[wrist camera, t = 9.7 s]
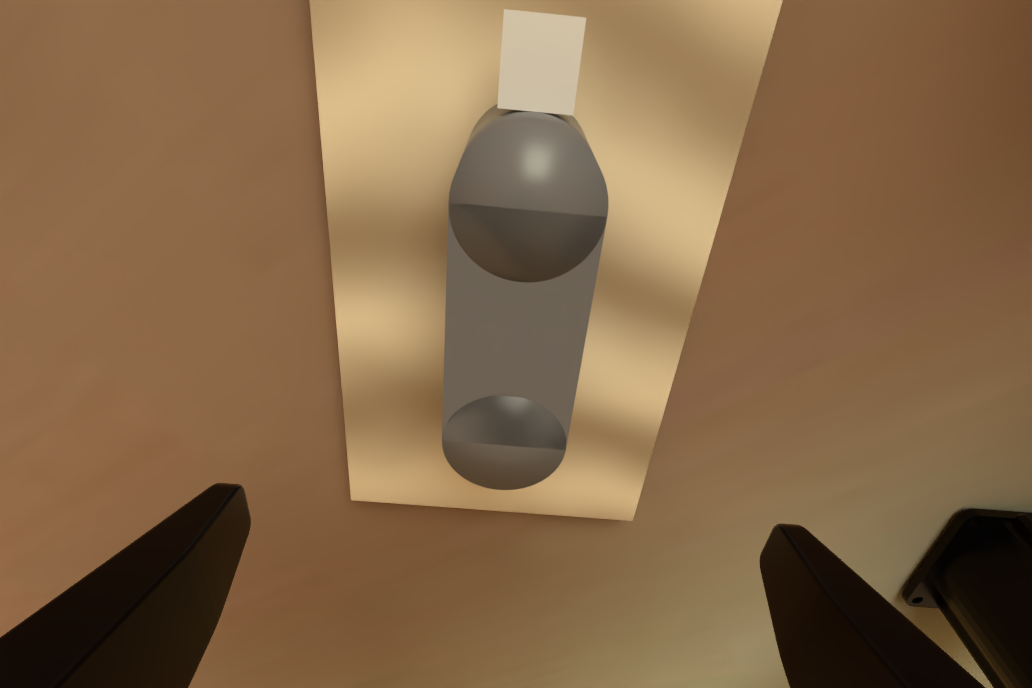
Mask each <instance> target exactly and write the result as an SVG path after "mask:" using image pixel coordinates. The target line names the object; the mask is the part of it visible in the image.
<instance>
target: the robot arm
mask: <svg viewBox="0 0 1032 688" xmlns="http://www.w3.org/2000/svg"><path fill="white" fill-rule="evenodd" d="M250 525H251V518H250V513H249V508H248V504H247V499H246V494H245V491H244V488H243V487H242V486H241V485H239V484H228V483H217V484H214V485H212V486H211V487H209V488H208V489H206V490H205V491H204V492H202V493H201V494H199V495H198V496H197V497H195V498H194V499H192V500H191V501H190V502H188V503H187V504H185V505H184V506H183V507H181V508H180V509H179V510H177V511H176V512H174V513H173V514H172V515H170V516H169V517H167V518H166V519H165V520H163V521H162V522H160V523H159V524H158V525H156V526H155V527H153V528H152V529H151V530H149V531H148V532H146V533H145V534H144V535H142V536H141V537H140V538H138V539H137V540H135V541H134V542H133V543H131V544H130V545H128V546H127V547H126V548H124V549H123V550H121V551H120V552H119V553H117V554H116V555H114V556H113V557H112V558H110V559H109V560H107V561H106V562H105V563H103V564H102V565H101V566H99V567H98V568H96V569H95V570H94V571H92V572H91V573H89V574H88V575H87V576H85V577H84V578H82V579H81V580H80V581H78V582H77V583H75V584H74V585H73V586H71V587H70V588H69V589H67V590H66V591H64V592H63V593H62V594H60V595H59V596H57V597H56V598H55V599H53V600H52V601H50V602H49V603H48V604H46V605H45V606H43V607H42V608H41V609H39V610H38V611H36V612H35V613H34V614H32V615H31V616H30V617H28V618H27V619H25V620H24V621H23V622H21V623H20V624H18V625H17V626H16V627H14V628H13V629H11V630H10V631H9V632H7V633H6V634H4V635H3V636H2V637H0V688H188V687H189V685H190V683H191V680H192V678H193V676H194V674H195V672H196V670H197V668H198V665H199V663H200V661H201V659H202V657H203V655H204V652H205V650H206V648H207V646H208V644H209V642H210V640H211V637H212V635H213V633H214V631H215V628H216V626H217V624H218V621H219V618H220V616H221V613H222V610H223V608H224V605H225V602H226V599H227V596H228V593H229V590H230V587H231V584H232V581H233V578H234V575H235V572H236V570H237V567H238V564H239V561H240V558H241V555H242V552H243V549H244V546H245V543H246V540H247V537H248V534H249V531H250ZM760 570H761V574H762V579H763V583H764V588H765V592H766V597H767V601H768V606H769V610H770V615H771V619H772V624H773V628H774V632H775V637H776V641H777V645H778V649H779V653H780V657H781V661H782V664H783V667H784V670H785V673H786V676H787V679H788V682H789V685H790V688H985V687H984V686H983V685H982V684H981V683H979V682H978V681H977V680H976V679H975V678H974V677H973V676H972V675H970V674H969V673H968V672H967V671H966V670H965V669H964V668H962V667H961V666H960V665H959V664H958V663H957V662H956V661H955V660H953V659H952V658H951V657H950V656H949V655H948V654H947V653H946V652H944V651H943V650H942V649H941V648H940V647H939V646H938V645H937V644H935V643H934V642H933V641H932V640H931V639H930V638H929V637H927V636H926V635H925V634H924V633H923V632H922V631H921V630H920V629H918V628H917V627H916V626H915V625H914V624H913V623H912V622H911V621H909V620H908V619H907V618H906V617H905V616H904V615H903V614H902V613H900V612H899V611H898V610H897V609H896V608H895V607H894V606H892V605H891V604H890V603H889V602H888V601H887V600H886V599H885V598H883V597H882V596H881V595H880V594H879V593H878V592H877V591H876V590H874V589H873V588H872V587H871V586H870V585H869V584H868V583H867V582H865V581H864V580H863V579H862V578H861V577H860V576H859V575H857V574H856V573H855V572H854V571H853V570H852V569H851V568H850V567H848V566H847V565H846V564H845V563H844V562H843V561H842V560H841V559H839V558H838V557H837V556H836V555H835V554H834V553H833V552H831V551H830V550H829V549H828V548H827V547H826V546H825V545H824V544H822V543H821V542H820V541H819V540H818V539H817V538H816V537H815V536H813V535H812V534H811V533H810V532H809V531H808V530H807V529H805V528H804V527H802V526H800V525H793V524H777V525H776V526H774V528H773V529H772V532H771V534H770V536H769V538H768V540H767V542H766V544H765V546H764V548H763V550H762V552H761V555H760ZM902 596H903V598H904V600H905V601H906V603H907V604H908V605H909V606H914V607H928V608H939V609H940V610H941V611H942V613H943V614H944V616H945V617H946V619H947V620H948V622H949V623H950V625H951V626H952V627H953V629H954V630H955V632H956V633H957V635H958V636H959V638H960V639H961V641H962V642H963V644H964V645H965V646H966V648H967V649H968V651H969V652H970V654H971V655H972V657H973V658H974V660H975V661H976V663H977V664H978V665H979V667H980V668H981V670H982V671H983V673H984V674H985V676H986V677H987V679H988V680H989V681H990V683H991V684H992V686H993V687H994V688H1032V513H1025V512H1012V511H999V510H986V509H968V510H965V511H963V512H961V513H960V514H959V515H958V516H957V517H956V519H955V520H954V522H953V523H952V524H951V526H950V527H949V529H948V530H947V531H946V533H945V534H944V536H943V537H942V538H941V540H940V541H939V543H938V544H937V545H936V547H935V548H934V550H933V551H932V552H931V554H930V555H929V557H928V558H927V559H926V561H925V562H924V564H923V565H922V566H921V568H920V569H919V571H918V572H917V573H916V575H915V576H914V578H913V579H912V580H911V582H910V583H909V585H908V586H907V587H906V589H905V590H904V591H903V593H902Z"/></svg>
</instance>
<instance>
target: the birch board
mask: <svg viewBox="0 0 1032 688" xmlns="http://www.w3.org/2000/svg"><path fill="white" fill-rule="evenodd" d="M309 1H310V13H311V25H312V37H313V49H314V61H315V73H316V85H317V97H318V109H319V121H320V133H321V145H322V157H323V169H324V181H325V193H326V205H327V217H328V229H329V241H330V253H331V265H332V277H333V289H334V301H335V313H336V325H337V337H338V349H339V361H340V373H341V385H342V397H343V409H344V421H345V433H346V445H347V457H348V469H349V481H350V493H351V500H356V501H370V502H383V503H397V504H410V505H424V506H438V507H451V508H465V509H478V510H492V511H506V512H519V513H533V514H546V515H560V516H574V517H587V518H601V519H615V520H628V521H633V517H634V514H635V511H636V507H637V504H638V500H639V497H640V493H641V490H642V486H643V483H644V479H645V476H646V472H647V469H648V465H649V462H650V459H651V455H652V452H653V448H654V445H655V441H656V438H657V434H658V431H659V427H660V424H661V420H662V417H663V413H664V410H665V407H666V403H667V400H668V396H669V393H670V389H671V386H672V382H673V379H674V375H675V372H676V368H677V365H678V361H679V358H680V355H681V351H682V348H683V344H684V341H685V337H686V334H687V330H688V327H689V323H690V320H691V316H692V313H693V309H694V306H695V303H696V299H697V296H698V292H699V289H700V285H701V282H702V278H703V275H704V271H705V268H706V264H707V261H708V257H709V254H710V251H711V247H712V244H713V240H714V237H715V233H716V230H717V226H718V223H719V219H720V216H721V212H722V209H723V205H724V202H725V199H726V195H727V192H728V188H729V185H730V181H731V178H732V174H733V171H734V167H735V164H736V160H737V157H738V153H739V150H740V147H741V143H742V140H743V136H744V133H745V129H746V126H747V122H748V119H749V115H750V112H751V108H752V105H753V101H754V98H755V95H756V91H757V88H758V84H759V81H760V77H761V74H762V70H763V67H764V63H765V60H766V56H767V53H768V49H769V46H770V42H771V39H772V36H773V32H774V29H775V25H776V22H777V18H778V15H779V11H780V8H781V4H782V1H783V0H309ZM504 9H509V10H519V11H529V12H538V13H548V14H558V15H567V16H577V17H584V18H586V24H585V32H584V39H583V47H582V54H581V62H580V69H579V77H578V84H577V92H576V99H575V107H574V114H573V117H574V118H575V119H576V120H577V122H578V123H579V125H580V126H581V128H582V130H583V132H584V134H585V137H586V139H587V141H588V143H589V145H590V148H591V150H592V152H593V154H594V156H595V158H596V161H597V163H598V165H599V167H600V169H601V172H602V174H603V176H604V179H605V182H606V186H607V192H608V206H609V207H608V216H607V222H606V228H605V233H604V239H603V244H602V250H601V256H600V261H599V267H598V272H597V278H596V284H595V289H594V295H593V301H592V306H591V312H590V317H589V323H588V329H587V334H586V340H585V345H584V351H583V357H582V362H581V368H580V373H579V379H578V385H577V390H576V396H575V401H574V407H573V413H572V418H571V424H570V430H569V435H568V441H567V446H566V451H565V455H564V458H563V460H562V462H561V464H560V465H559V467H558V468H557V469H556V470H555V471H554V472H553V473H552V474H551V475H550V476H549V477H547V478H546V479H544V480H543V481H541V482H539V483H537V484H535V485H532V486H529V487H526V488H522V489H516V490H496V489H489V488H485V487H482V486H479V485H476V484H474V483H471V482H469V481H468V480H466V479H464V478H463V477H462V476H460V475H459V474H458V473H457V472H456V471H455V470H454V469H453V468H452V467H451V466H450V465H449V463H448V461H447V460H446V458H445V455H444V452H443V448H442V418H443V382H444V345H445V309H446V272H447V236H448V202H449V192H450V187H451V183H452V180H453V177H454V175H455V172H456V170H457V167H458V165H459V162H460V160H461V157H462V155H463V152H464V150H465V147H466V145H467V142H468V140H469V137H470V134H471V132H472V130H473V128H474V126H475V125H476V123H477V122H478V121H479V119H480V118H481V117H482V116H483V115H484V114H485V113H486V112H487V111H488V110H489V109H490V108H492V107H493V106H494V105H496V104H498V90H499V75H500V60H501V45H502V30H503V16H504Z"/></svg>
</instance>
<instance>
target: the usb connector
mask: <svg viewBox="0 0 1032 688" xmlns="http://www.w3.org/2000/svg"><path fill="white" fill-rule="evenodd" d="M585 24H586V18H584V17H577V16H567V15H558V14H548V13H538V12H529V11H519V10H509V9H504V16H503V30H502V45H501V60H500V75H499V90H498V104H496V105H494V106H493V107H492V108H490V109H489V110H488V111H487V112H486V113H485V114H484V115H483V116H482V117H481V118H480V119H479V121H478V122H477V123H476V125H475V126H474V128H473V130H472V132H471V134H470V137H469V140H468V142H467V145H466V147H465V150H464V152H463V155H462V157H461V160H460V162H459V165H458V167H457V170H456V172H455V175H454V177H453V180H452V183H451V187H450V192H449V202H448V236H447V272H446V309H445V345H444V382H443V418H442V448H443V452H444V455H445V458H446V460H447V461H448V463H449V465H450V466H451V467H452V468H453V469H454V470H455V471H456V472H457V473H458V474H459V475H460V476H462V477H463V478H464V479H466V480H468V481H469V482H471V483H474V484H476V485H479V486H482V487H485V488H489V489H496V490H516V489H522V488H526V487H529V486H532V485H535V484H537V483H539V482H541V481H543V480H544V479H546V478H547V477H549V476H550V475H551V474H552V473H553V472H554V471H555V470H556V469H557V468H558V467H559V465H560V464H561V462H562V460H563V458H564V455H565V451H566V446H567V441H568V435H569V430H570V424H571V418H572V413H573V407H574V401H575V396H576V390H577V385H578V379H579V373H580V368H581V362H582V357H583V351H584V345H585V340H586V334H587V329H588V323H589V317H590V312H591V306H592V301H593V295H594V289H595V284H596V278H597V272H598V267H599V261H600V256H601V250H602V244H603V239H604V233H605V228H606V222H607V216H608V207H609V206H608V192H607V186H606V182H605V179H604V176H603V174H602V172H601V169H600V167H599V165H598V163H597V161H596V158H595V156H594V154H593V152H592V150H591V148H590V145H589V143H588V141H587V139H586V137H585V134H584V132H583V130H582V128H581V126H580V125H579V123H578V122H577V120H576V119H575V118H574V117H573V114H574V107H575V99H576V92H577V84H578V77H579V69H580V62H581V54H582V47H583V39H584V32H585Z"/></svg>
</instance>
